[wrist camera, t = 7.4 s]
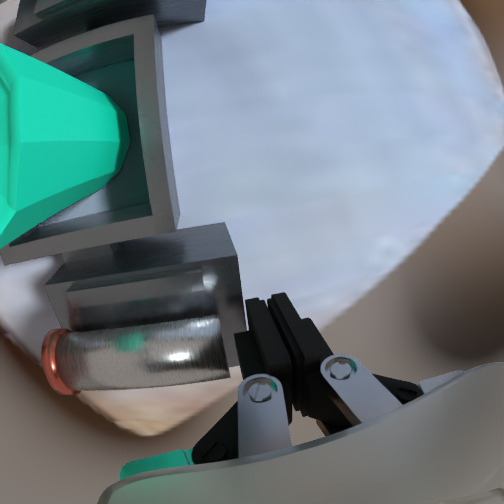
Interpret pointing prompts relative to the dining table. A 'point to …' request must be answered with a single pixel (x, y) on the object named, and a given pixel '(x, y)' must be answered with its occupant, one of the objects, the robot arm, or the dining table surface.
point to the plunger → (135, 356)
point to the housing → (139, 216)
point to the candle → (52, 141)
